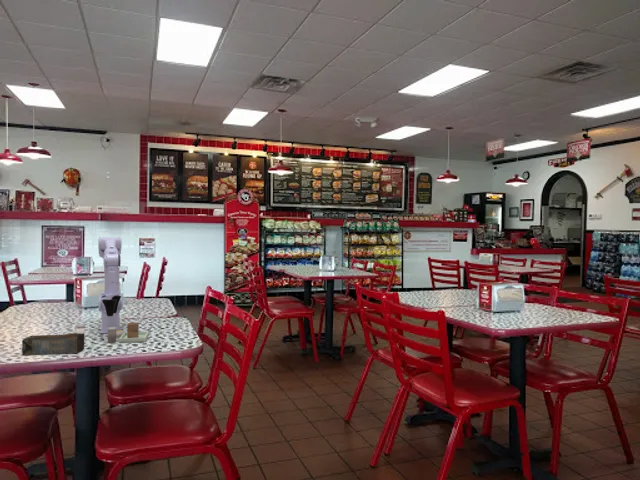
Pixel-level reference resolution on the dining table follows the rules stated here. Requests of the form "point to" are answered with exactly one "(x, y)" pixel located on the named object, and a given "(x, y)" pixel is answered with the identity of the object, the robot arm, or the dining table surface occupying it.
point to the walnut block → (132, 330)
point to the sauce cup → (119, 333)
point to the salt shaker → (80, 329)
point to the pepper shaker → (112, 334)
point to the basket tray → (141, 338)
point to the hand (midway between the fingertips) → (111, 314)
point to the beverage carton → (53, 344)
